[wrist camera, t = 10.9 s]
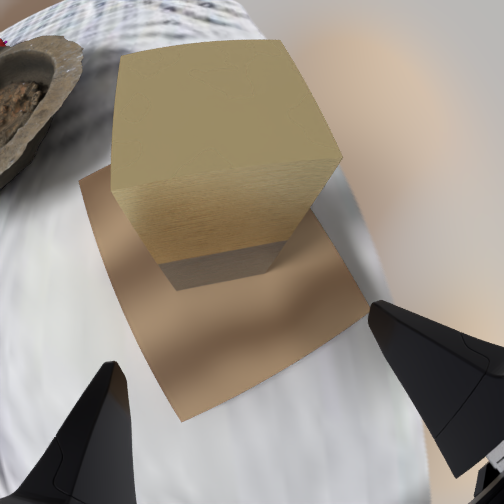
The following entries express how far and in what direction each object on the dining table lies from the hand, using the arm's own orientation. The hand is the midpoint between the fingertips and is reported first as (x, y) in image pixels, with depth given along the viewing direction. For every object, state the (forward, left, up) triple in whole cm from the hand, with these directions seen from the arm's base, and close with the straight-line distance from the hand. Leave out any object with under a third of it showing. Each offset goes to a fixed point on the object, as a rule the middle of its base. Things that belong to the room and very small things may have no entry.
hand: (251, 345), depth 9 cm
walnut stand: (+6, -2, -10) cm, 12 cm away
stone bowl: (+29, +14, -11) cm, 34 cm away
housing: (+6, -2, -8) cm, 10 cm away
